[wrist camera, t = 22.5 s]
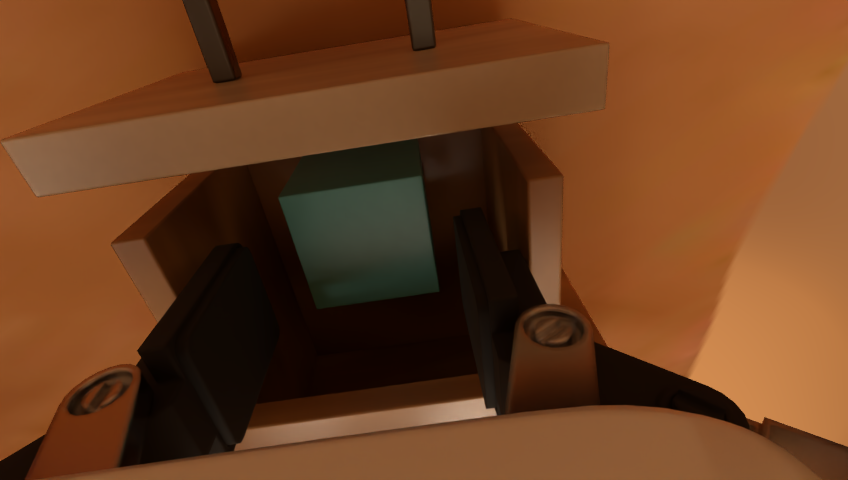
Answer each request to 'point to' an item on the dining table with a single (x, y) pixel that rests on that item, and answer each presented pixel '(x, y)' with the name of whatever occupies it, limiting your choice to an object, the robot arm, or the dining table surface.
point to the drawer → (326, 132)
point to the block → (362, 224)
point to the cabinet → (379, 404)
